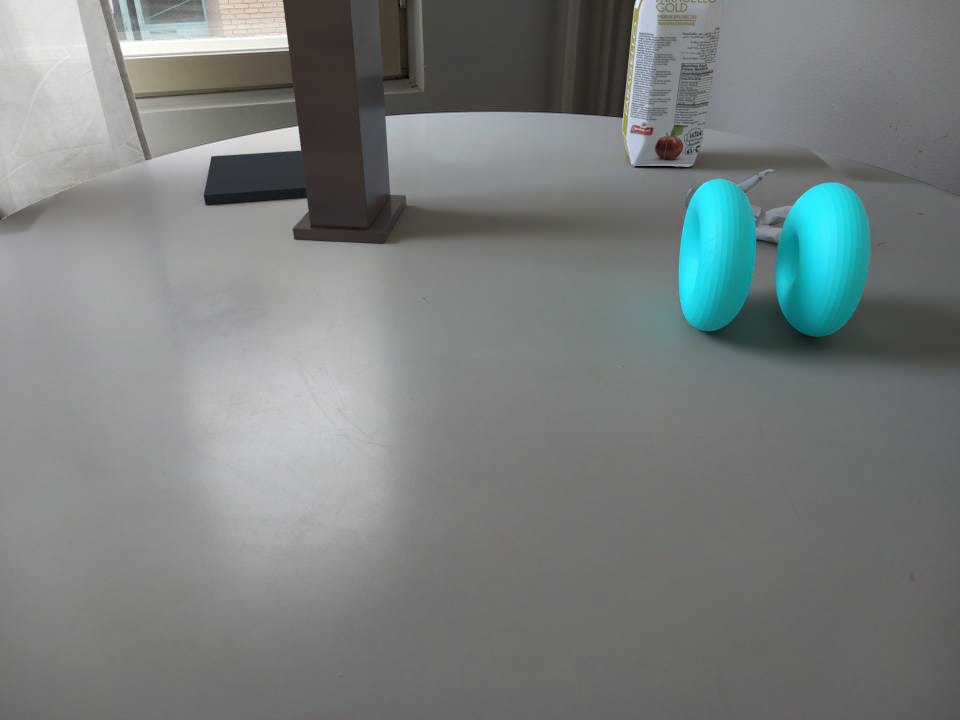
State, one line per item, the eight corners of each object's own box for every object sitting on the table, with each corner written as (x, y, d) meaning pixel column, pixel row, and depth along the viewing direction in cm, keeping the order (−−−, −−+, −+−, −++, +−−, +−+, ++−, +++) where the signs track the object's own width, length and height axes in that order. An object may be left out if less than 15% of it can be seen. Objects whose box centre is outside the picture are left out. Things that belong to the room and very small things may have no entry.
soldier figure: (805, 278, 60) (672, 213, 63) (788, 294, 65) (665, 233, 67) (849, 198, 61) (716, 137, 63) (828, 220, 66) (705, 162, 68)
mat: (213, 164, 84) (211, 156, 84) (302, 158, 86) (301, 150, 86) (205, 205, 72) (203, 195, 72) (309, 197, 75) (308, 187, 74)
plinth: (327, 201, 73) (285, -185, 57) (406, 205, 73) (386, -186, 57) (293, 239, 65) (233, -203, 49) (383, 243, 64) (352, -204, 48)
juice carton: (702, 170, 83) (732, -21, 73) (624, 169, 83) (644, -22, 73) (688, 151, 89) (715, -26, 79) (616, 150, 89) (634, -27, 80)
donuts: (849, 366, 47) (895, 214, 42) (688, 357, 48) (714, 208, 43) (806, 296, 55) (840, 163, 50) (670, 290, 56) (689, 159, 51)
